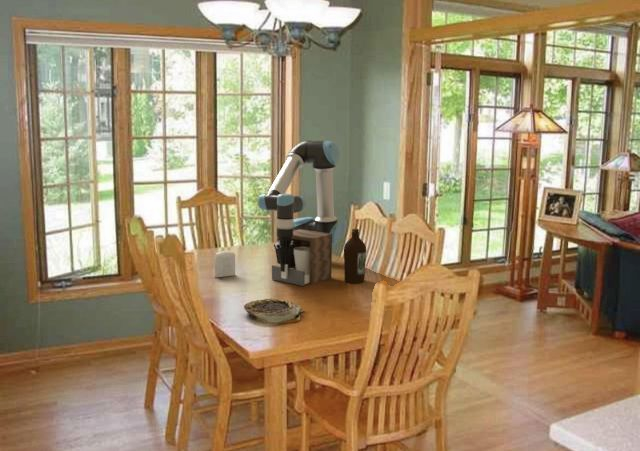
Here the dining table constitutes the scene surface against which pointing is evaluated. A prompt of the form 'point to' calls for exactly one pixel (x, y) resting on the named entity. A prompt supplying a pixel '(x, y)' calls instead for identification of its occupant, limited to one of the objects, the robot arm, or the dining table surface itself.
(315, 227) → the robot arm
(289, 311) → the pie
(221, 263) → the photo printer
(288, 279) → the tray
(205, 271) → the dining table surface
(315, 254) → the cabinet
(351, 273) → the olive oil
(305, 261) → the foam cup
